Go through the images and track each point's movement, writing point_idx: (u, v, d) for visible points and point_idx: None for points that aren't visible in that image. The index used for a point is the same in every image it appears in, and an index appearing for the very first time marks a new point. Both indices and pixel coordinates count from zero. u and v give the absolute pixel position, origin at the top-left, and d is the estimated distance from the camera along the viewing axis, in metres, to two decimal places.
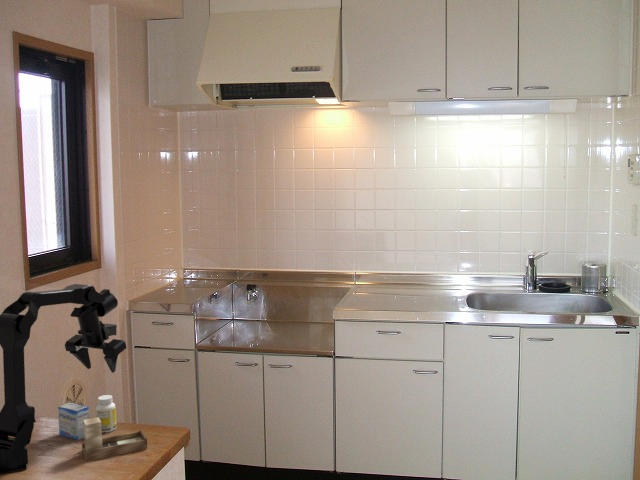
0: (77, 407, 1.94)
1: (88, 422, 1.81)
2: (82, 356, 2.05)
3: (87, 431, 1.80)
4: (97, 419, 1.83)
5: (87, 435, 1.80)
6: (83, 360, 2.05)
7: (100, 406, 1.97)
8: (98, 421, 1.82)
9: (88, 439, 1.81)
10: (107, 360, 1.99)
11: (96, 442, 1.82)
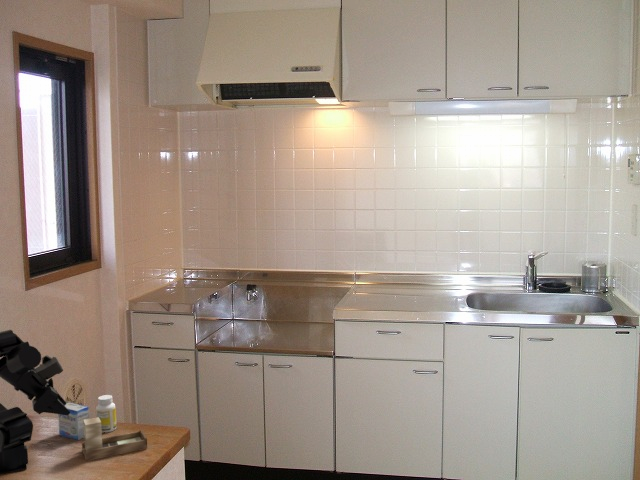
0: (77, 407, 1.94)
1: (88, 422, 1.81)
2: None
3: (87, 431, 1.80)
4: (97, 419, 1.83)
5: (87, 435, 1.80)
6: None
7: (100, 406, 1.97)
8: (98, 421, 1.82)
9: (88, 439, 1.81)
10: None
11: (96, 442, 1.82)
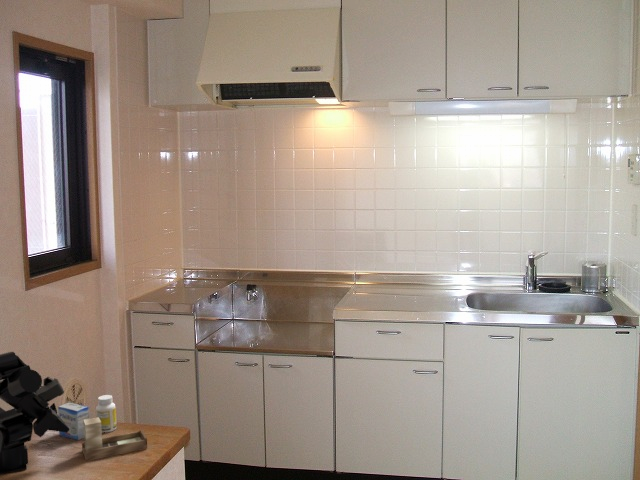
0: (77, 407, 1.94)
1: (88, 422, 1.81)
2: None
3: (87, 431, 1.80)
4: (97, 419, 1.83)
5: (87, 435, 1.80)
6: None
7: (100, 406, 1.97)
8: (98, 421, 1.82)
9: (88, 439, 1.81)
10: None
11: (96, 442, 1.82)
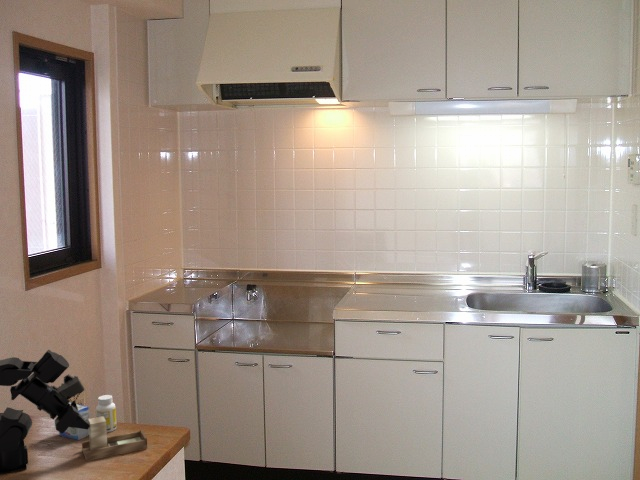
0: (77, 407, 1.94)
1: (93, 421, 1.82)
2: None
3: (92, 430, 1.81)
4: (102, 418, 1.84)
5: (92, 434, 1.81)
6: None
7: (100, 406, 1.97)
8: (103, 420, 1.83)
9: (93, 438, 1.81)
10: None
11: (101, 441, 1.82)
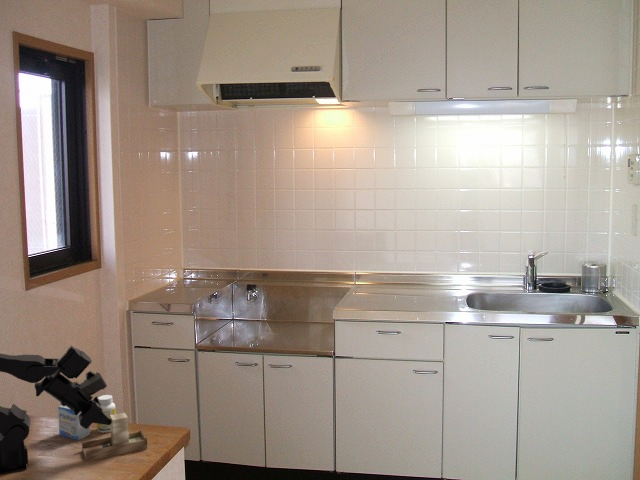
0: None
1: (115, 417, 1.85)
2: None
3: (114, 426, 1.83)
4: (123, 415, 1.86)
5: (114, 430, 1.83)
6: None
7: None
8: (125, 416, 1.85)
9: (115, 434, 1.84)
10: None
11: (123, 437, 1.85)
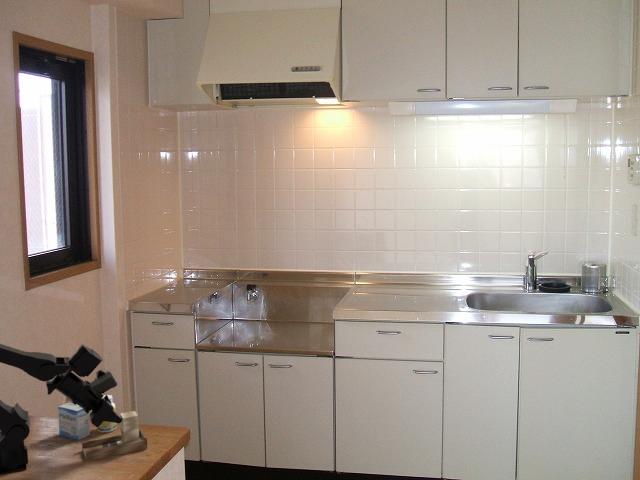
0: (77, 407, 1.94)
1: (125, 415, 1.86)
2: None
3: (124, 424, 1.85)
4: (134, 413, 1.88)
5: (124, 428, 1.85)
6: None
7: None
8: (135, 414, 1.86)
9: (125, 432, 1.85)
10: None
11: (133, 435, 1.86)
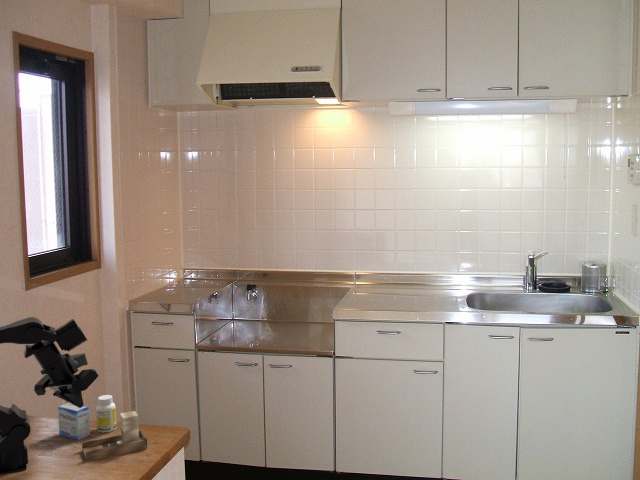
0: (77, 407, 1.94)
1: (125, 415, 1.86)
2: None
3: (124, 424, 1.85)
4: (134, 413, 1.88)
5: (124, 428, 1.85)
6: None
7: (100, 406, 1.97)
8: (135, 414, 1.86)
9: (125, 432, 1.85)
10: (68, 396, 1.78)
11: (133, 435, 1.86)
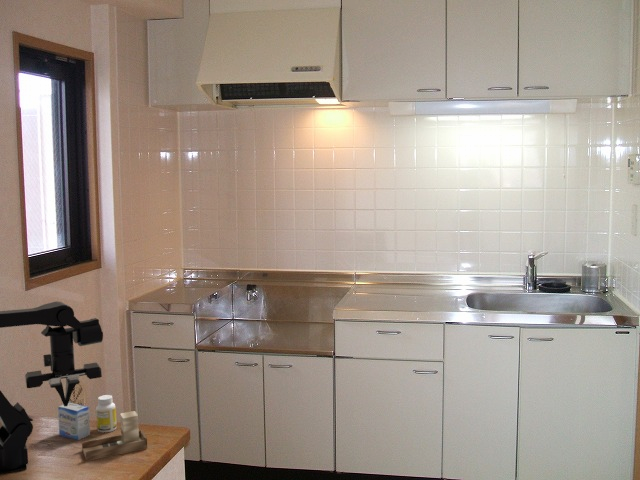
0: (77, 407, 1.94)
1: (125, 415, 1.86)
2: None
3: (124, 424, 1.85)
4: (134, 413, 1.88)
5: (124, 428, 1.85)
6: None
7: (100, 406, 1.97)
8: (135, 414, 1.86)
9: (125, 432, 1.85)
10: (71, 387, 1.81)
11: (133, 435, 1.86)
